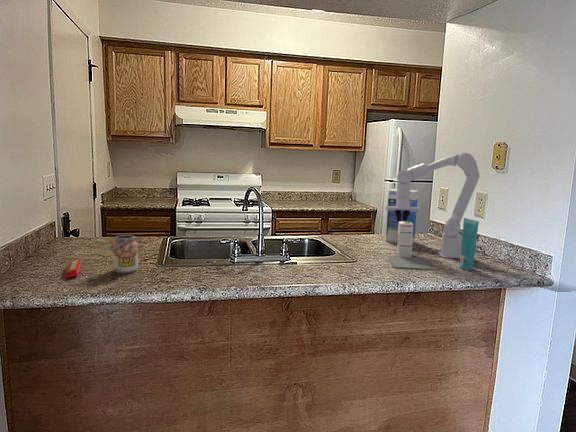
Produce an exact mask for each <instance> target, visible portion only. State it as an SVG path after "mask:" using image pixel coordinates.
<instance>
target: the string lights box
mask: <svg viewBox="0 0 576 432" xmlns="http://www.w3.org/2000/svg"><path fill="white" fill-rule="evenodd" d="M418 192H419V190H418V189H416V190H414V189H410V203H409V207H418ZM396 199H397V188H391V189H389V190H388V195H387V206H396ZM398 210H401V209H398ZM402 212H403V211H401V213H402ZM386 215H387V216H386V232H385V233H386V234H385V242H386V243H394V244H397V242H398V221H397V217H396V214H395V211H387V214H386ZM401 221H402V215H401ZM406 222H412V223H413V240H412V245H414V243H415V241H416V226H417V223H416V222H417V212H410V215H409V216H408V218H407V220H406Z"/></svg>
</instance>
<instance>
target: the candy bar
mask: <svg viewBox="0 0 576 432" xmlns="http://www.w3.org/2000/svg"><path fill="white" fill-rule="evenodd" d="M81 265H82V264H81V260H79V259H76V260H72V261H70V262H69V264H68V265H67V268H66V271H65V277H66V279H72V278H71V277H73V278H76V277H78V276H79V274H80V270H81Z"/></svg>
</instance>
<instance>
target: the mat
mask: <svg viewBox="0 0 576 432" xmlns="http://www.w3.org/2000/svg"><path fill="white" fill-rule="evenodd" d="M388 259H389V261H390V263H391V265H392V266H393V268H394V269H405V270H421V271H422V270H423V271H425V270H426V271H433V268H432V267H431V265H430V264H429V263H428V262H427V261H426V260H425V259H424V258H423V257H414V256H411V257H398V256H391V255H388Z"/></svg>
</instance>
